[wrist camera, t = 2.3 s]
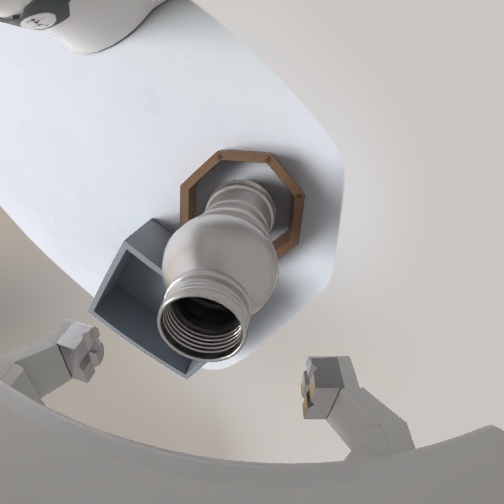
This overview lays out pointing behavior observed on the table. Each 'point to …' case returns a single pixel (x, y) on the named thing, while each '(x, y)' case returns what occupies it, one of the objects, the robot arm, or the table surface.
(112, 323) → the bin
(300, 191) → the collar
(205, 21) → the table surface
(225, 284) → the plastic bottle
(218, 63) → the table surface
